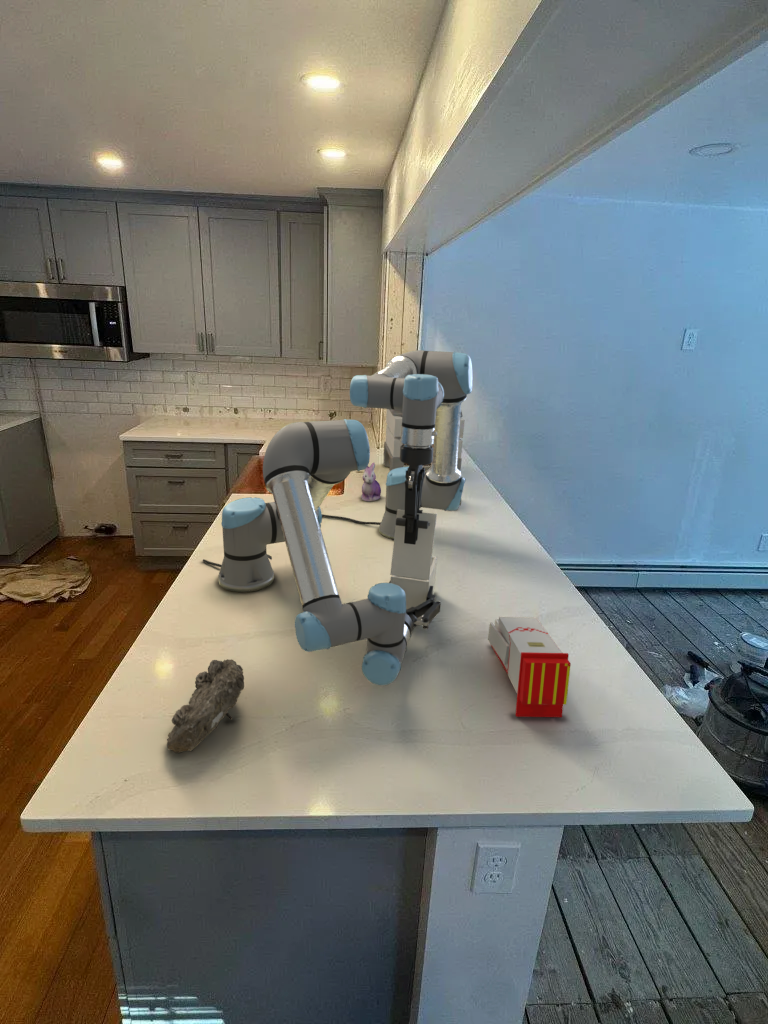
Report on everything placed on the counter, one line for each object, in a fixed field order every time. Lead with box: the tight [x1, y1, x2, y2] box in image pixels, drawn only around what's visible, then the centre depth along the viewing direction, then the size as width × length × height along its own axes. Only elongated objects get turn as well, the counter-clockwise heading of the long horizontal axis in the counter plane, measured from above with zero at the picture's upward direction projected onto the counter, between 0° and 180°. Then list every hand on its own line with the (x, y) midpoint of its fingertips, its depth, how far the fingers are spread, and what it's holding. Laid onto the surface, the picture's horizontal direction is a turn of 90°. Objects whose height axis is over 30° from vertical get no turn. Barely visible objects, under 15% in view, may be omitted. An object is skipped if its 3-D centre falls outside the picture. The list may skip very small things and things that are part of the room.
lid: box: [389, 510, 438, 580], centre depth 138 cm, size 16×10×8 cm
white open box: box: [389, 555, 438, 619], centre depth 151 cm, size 16×10×11 cm, turn 168°
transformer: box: [383, 409, 465, 473], centre depth 268 cm, size 34×33×41 cm
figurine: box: [360, 462, 382, 502], centre depth 233 cm, size 9×10×15 cm
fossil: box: [166, 658, 245, 754], centre depth 106 cm, size 22×10×15 cm
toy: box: [487, 616, 572, 718], centre depth 123 cm, size 12×13×30 cm
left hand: (411, 587), depth 146 cm, fingers closed on white open box, 10 cm apart
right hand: (410, 541), depth 136 cm, fingers closed on lid, 2 cm apart
